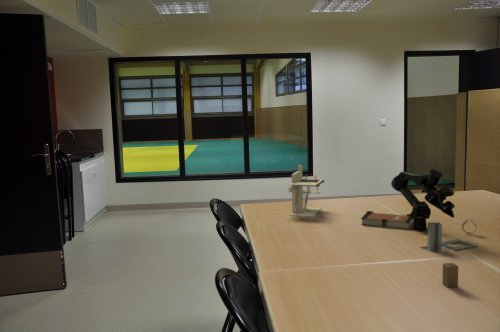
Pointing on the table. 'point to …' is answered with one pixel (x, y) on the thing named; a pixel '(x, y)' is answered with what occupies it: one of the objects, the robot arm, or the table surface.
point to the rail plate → (449, 245)
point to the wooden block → (450, 275)
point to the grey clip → (434, 235)
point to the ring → (467, 222)
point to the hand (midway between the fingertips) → (448, 213)
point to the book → (387, 220)
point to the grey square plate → (434, 249)
